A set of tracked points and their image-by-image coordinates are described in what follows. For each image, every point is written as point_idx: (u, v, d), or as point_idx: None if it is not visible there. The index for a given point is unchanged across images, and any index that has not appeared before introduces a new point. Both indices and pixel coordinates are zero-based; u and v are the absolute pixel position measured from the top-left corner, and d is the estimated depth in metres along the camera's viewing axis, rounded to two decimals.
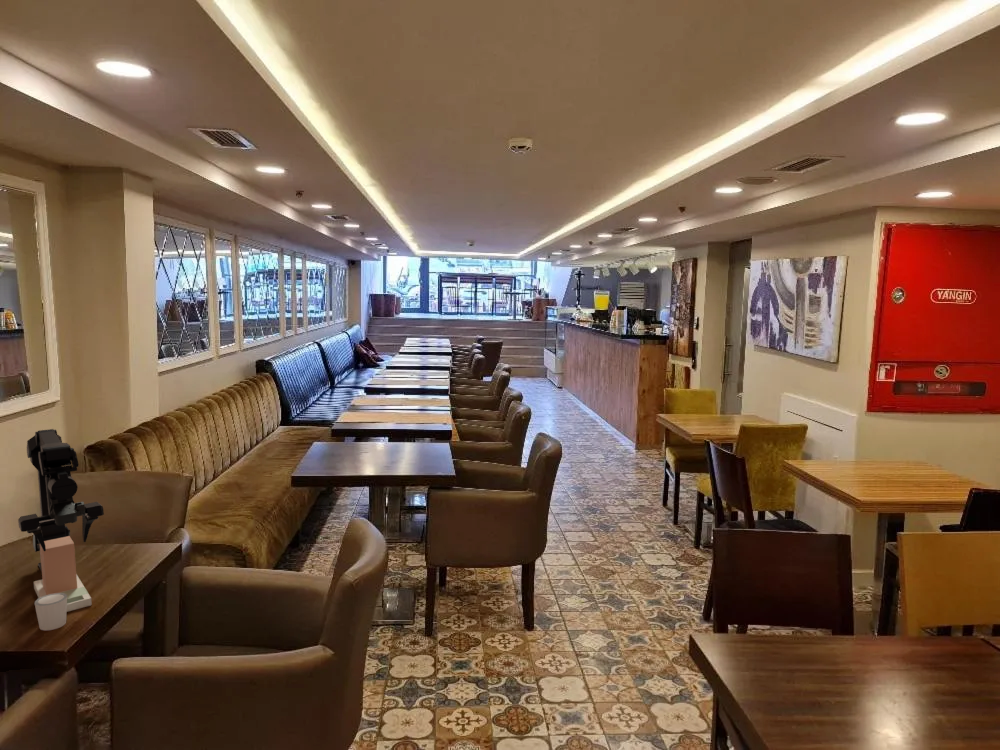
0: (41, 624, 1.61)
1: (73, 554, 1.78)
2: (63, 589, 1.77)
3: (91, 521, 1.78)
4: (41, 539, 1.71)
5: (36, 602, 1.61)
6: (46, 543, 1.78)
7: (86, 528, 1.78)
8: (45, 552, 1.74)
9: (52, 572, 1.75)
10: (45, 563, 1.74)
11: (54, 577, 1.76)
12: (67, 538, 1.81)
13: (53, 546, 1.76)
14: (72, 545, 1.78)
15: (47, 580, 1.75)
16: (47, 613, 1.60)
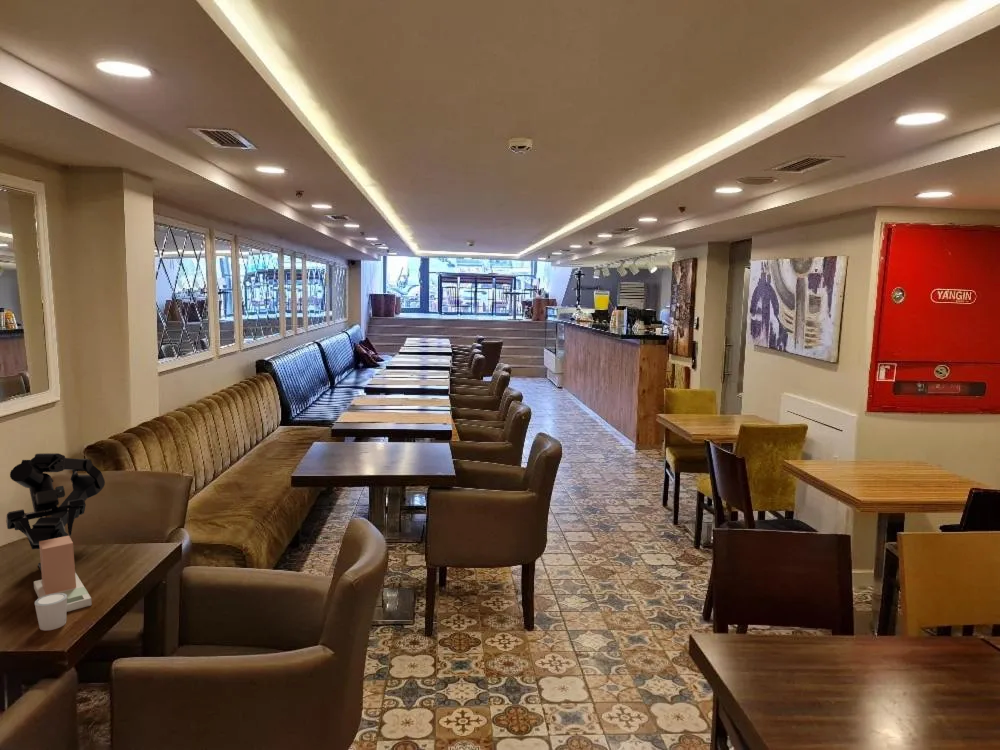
0: (41, 624, 1.61)
1: (72, 554, 1.78)
2: (62, 589, 1.78)
3: (73, 512, 1.90)
4: (29, 530, 1.82)
5: (36, 602, 1.61)
6: (45, 542, 1.78)
7: (70, 520, 1.89)
8: (44, 552, 1.74)
9: (51, 571, 1.76)
10: (44, 562, 1.74)
11: (52, 576, 1.76)
12: (66, 538, 1.82)
13: (52, 546, 1.76)
14: (71, 545, 1.78)
15: (46, 579, 1.75)
16: (47, 613, 1.60)
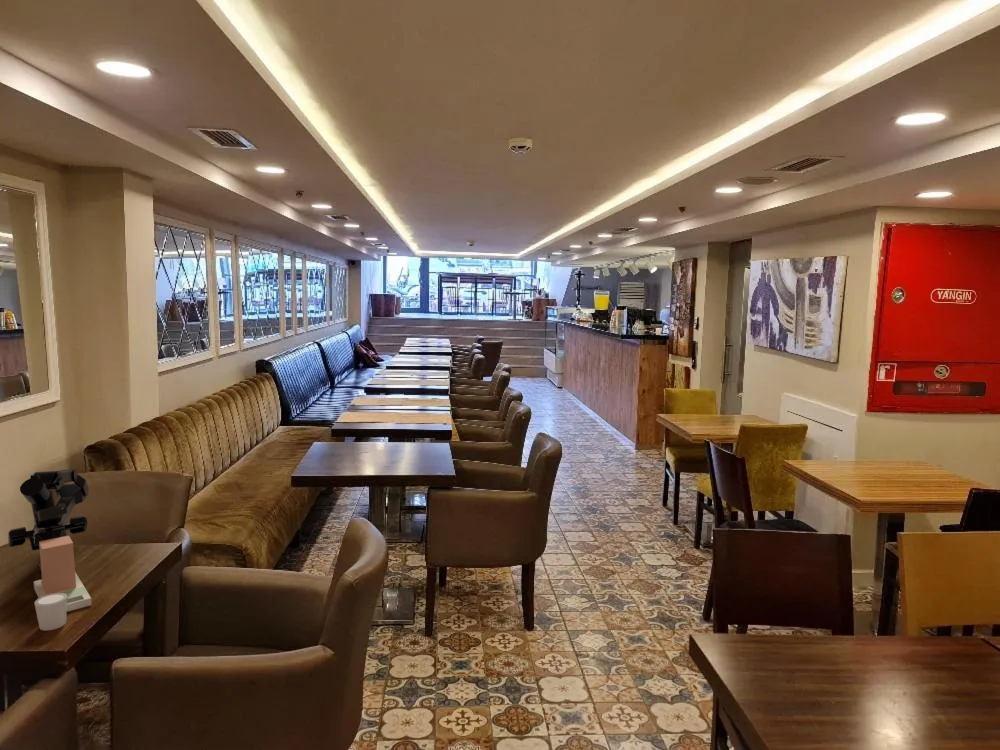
0: (41, 624, 1.61)
1: (72, 554, 1.78)
2: (62, 589, 1.78)
3: (58, 533, 1.87)
4: None
5: (36, 602, 1.61)
6: (45, 542, 1.78)
7: None
8: (44, 552, 1.74)
9: (51, 571, 1.76)
10: (44, 562, 1.74)
11: (52, 576, 1.76)
12: (66, 538, 1.82)
13: (52, 546, 1.76)
14: (71, 545, 1.78)
15: (46, 579, 1.75)
16: (47, 613, 1.60)
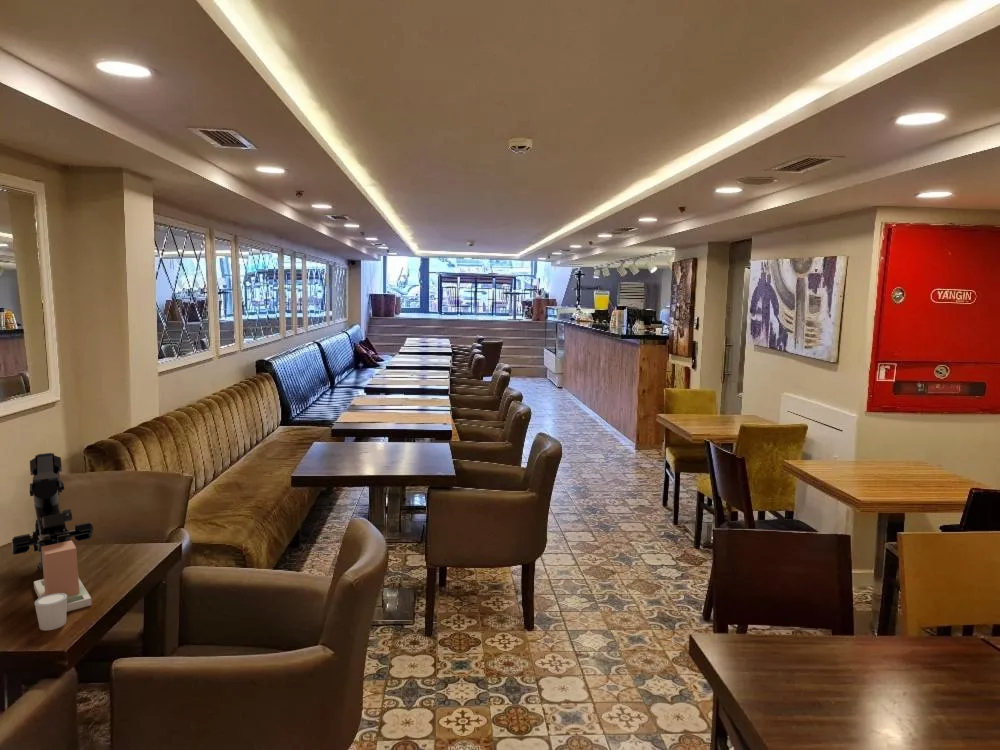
0: (41, 624, 1.61)
1: (75, 559, 1.75)
2: None
3: (63, 540, 1.81)
4: None
5: (36, 602, 1.61)
6: (48, 548, 1.74)
7: None
8: (47, 557, 1.71)
9: (54, 577, 1.72)
10: (47, 568, 1.71)
11: (55, 582, 1.72)
12: (69, 543, 1.78)
13: (55, 551, 1.72)
14: (74, 550, 1.75)
15: (49, 585, 1.72)
16: (47, 613, 1.60)
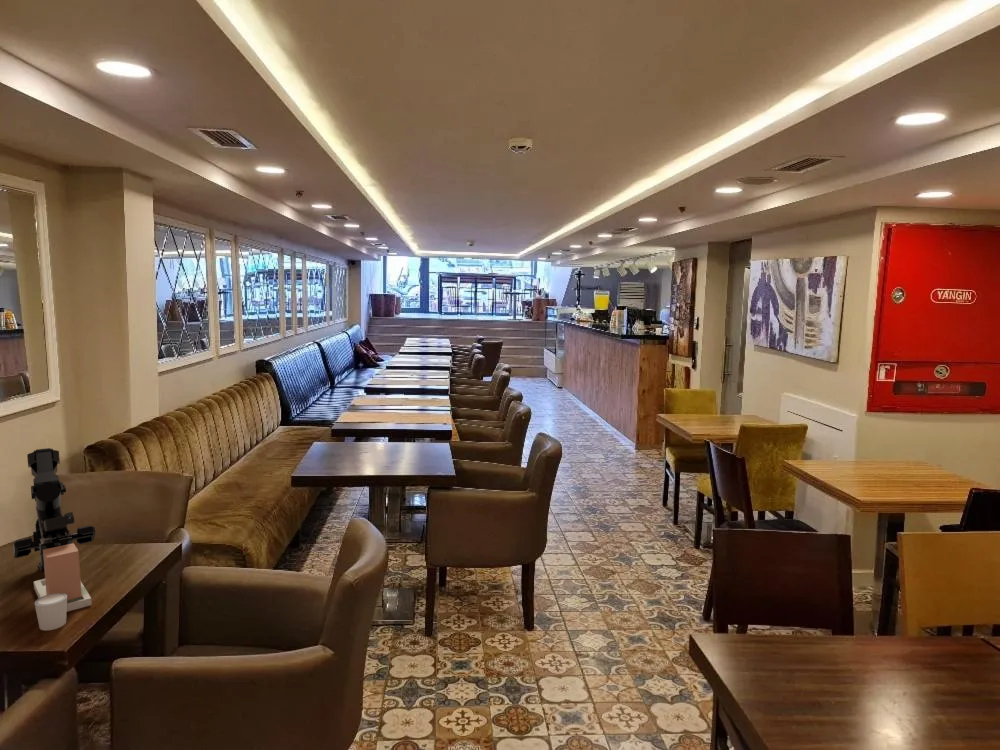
0: (41, 624, 1.61)
1: (77, 562, 1.73)
2: (67, 598, 1.72)
3: (65, 543, 1.79)
4: None
5: (36, 602, 1.61)
6: (50, 551, 1.72)
7: None
8: (49, 560, 1.69)
9: (56, 581, 1.70)
10: (49, 571, 1.69)
11: (57, 585, 1.71)
12: (71, 546, 1.76)
13: (57, 554, 1.70)
14: (76, 553, 1.73)
15: (51, 589, 1.70)
16: (47, 613, 1.60)
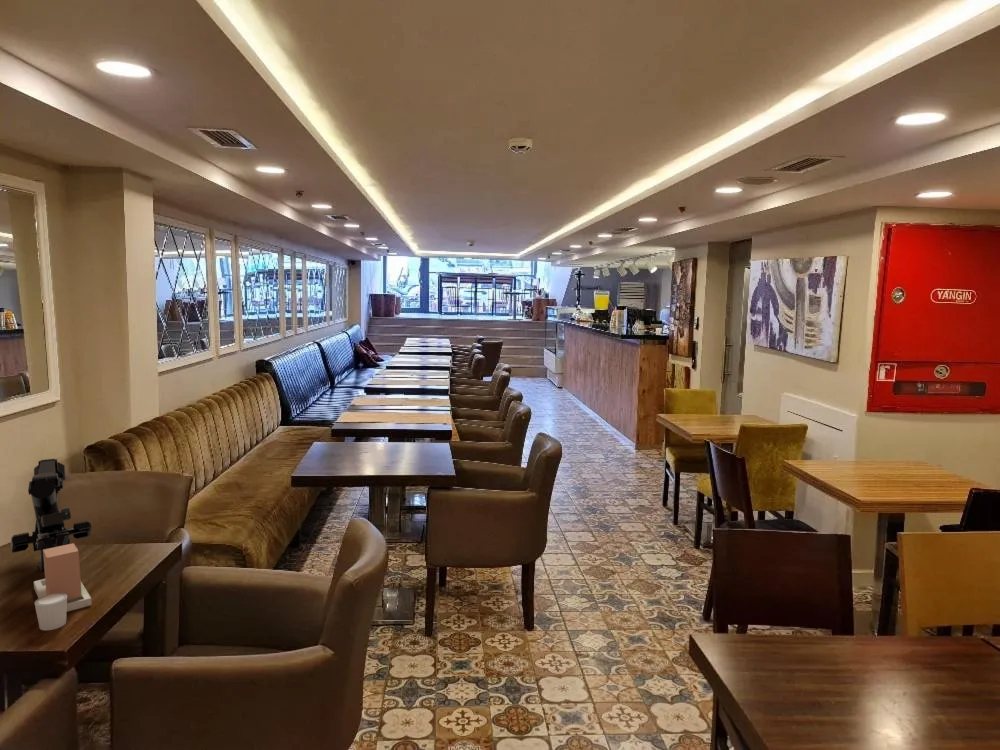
0: (41, 624, 1.61)
1: (77, 562, 1.73)
2: (67, 598, 1.72)
3: (62, 538, 1.84)
4: None
5: (36, 602, 1.61)
6: (50, 551, 1.72)
7: None
8: (49, 560, 1.69)
9: (56, 581, 1.70)
10: (49, 572, 1.69)
11: (57, 585, 1.71)
12: (71, 546, 1.76)
13: (57, 554, 1.70)
14: (76, 553, 1.73)
15: (51, 589, 1.70)
16: (47, 613, 1.60)
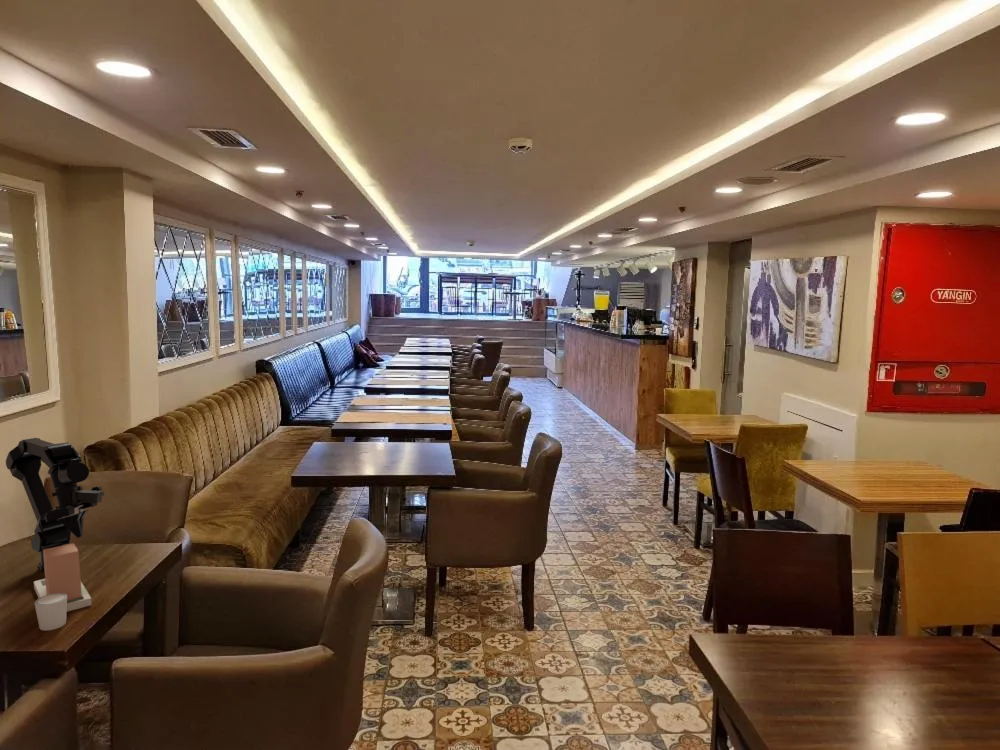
0: (41, 624, 1.61)
1: (77, 562, 1.73)
2: (67, 598, 1.72)
3: (85, 514, 1.91)
4: (79, 524, 1.88)
5: (36, 602, 1.61)
6: (50, 551, 1.72)
7: (82, 522, 1.89)
8: (49, 560, 1.69)
9: (56, 581, 1.70)
10: (49, 572, 1.69)
11: (57, 585, 1.71)
12: (71, 546, 1.76)
13: (57, 554, 1.70)
14: (76, 553, 1.73)
15: (51, 589, 1.70)
16: (47, 613, 1.60)
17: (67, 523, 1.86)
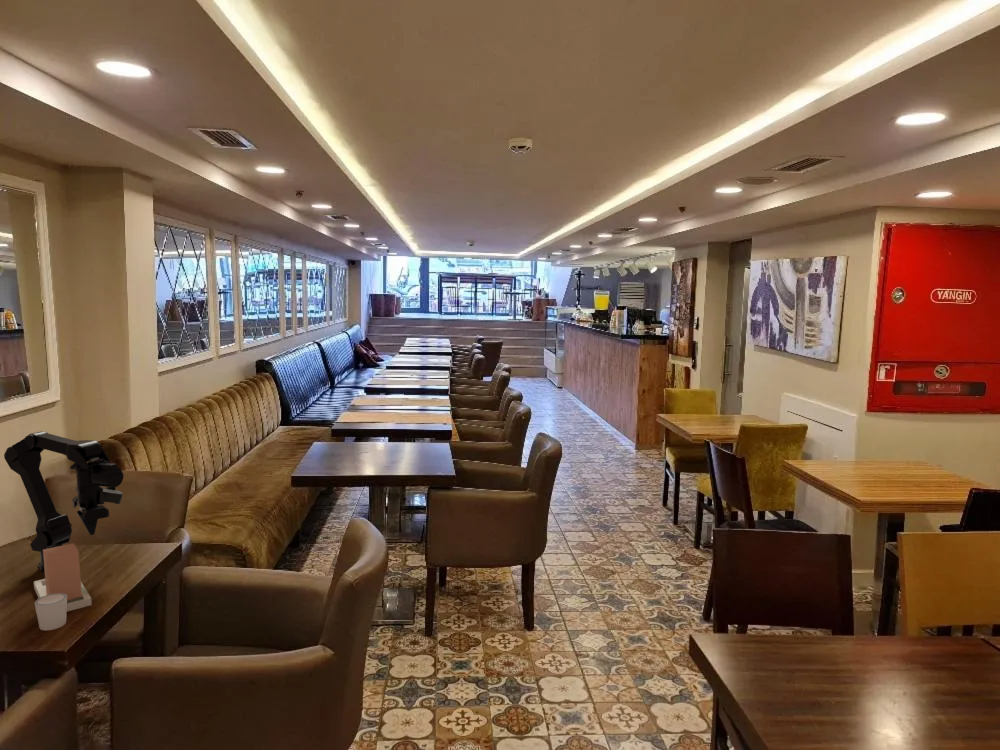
0: (41, 624, 1.61)
1: (77, 562, 1.73)
2: (67, 598, 1.72)
3: None
4: None
5: (36, 602, 1.61)
6: (50, 551, 1.72)
7: None
8: (49, 560, 1.69)
9: (56, 581, 1.70)
10: (49, 572, 1.69)
11: (57, 585, 1.71)
12: (71, 546, 1.76)
13: (57, 554, 1.70)
14: (76, 553, 1.73)
15: (51, 589, 1.70)
16: (47, 613, 1.60)
17: (86, 521, 1.90)
